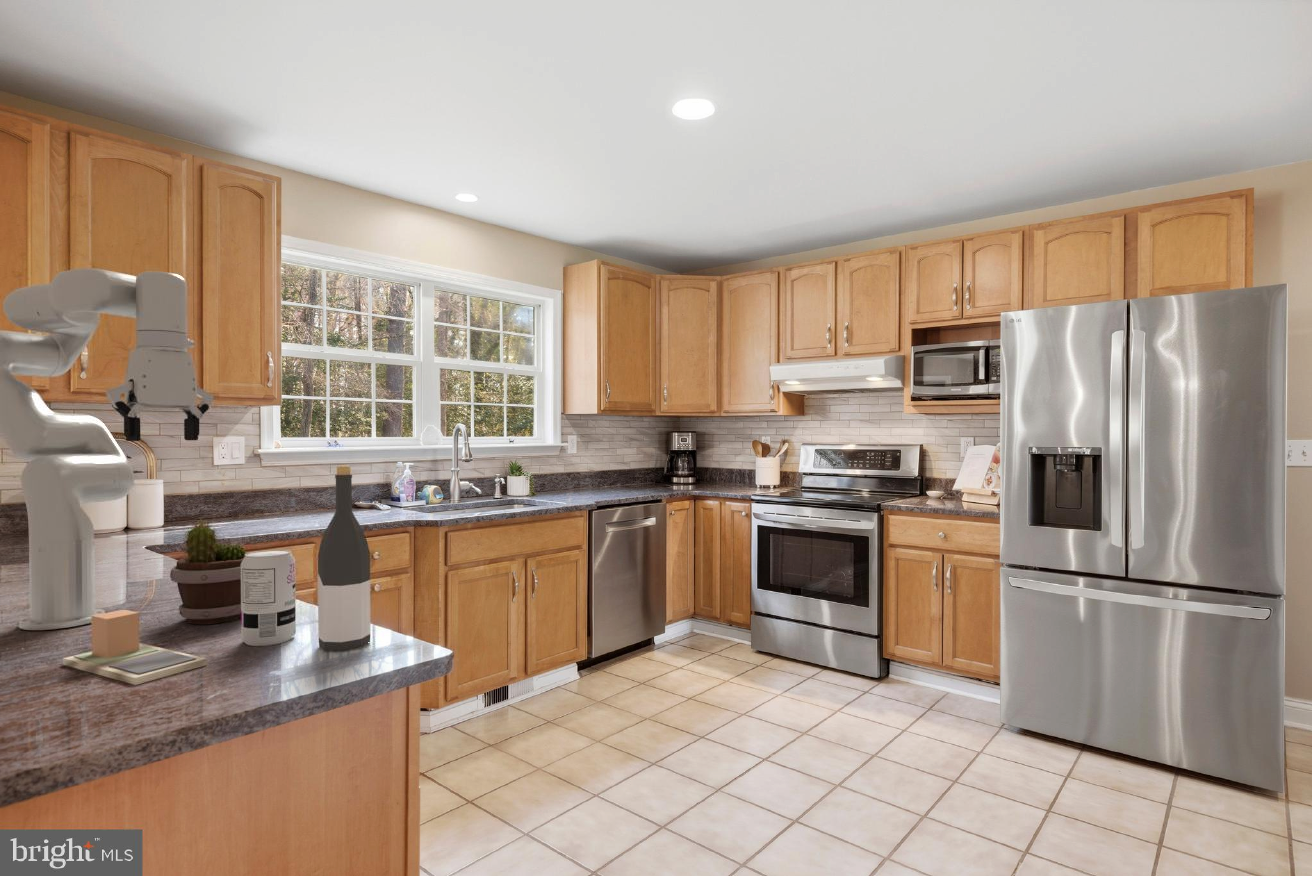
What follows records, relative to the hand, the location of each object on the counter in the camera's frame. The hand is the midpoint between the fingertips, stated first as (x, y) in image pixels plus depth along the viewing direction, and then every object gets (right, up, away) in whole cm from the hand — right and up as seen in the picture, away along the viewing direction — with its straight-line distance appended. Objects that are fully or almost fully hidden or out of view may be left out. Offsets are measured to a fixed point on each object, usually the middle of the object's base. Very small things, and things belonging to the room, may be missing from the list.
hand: (163, 440), depth 129 cm
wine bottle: (+35, -34, -7) cm, 49 cm away
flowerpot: (+3, -34, +11) cm, 36 cm away
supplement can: (+21, -35, -4) cm, 40 cm away
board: (+7, -34, -17) cm, 39 cm away
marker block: (+2, -33, -14) cm, 36 cm away
